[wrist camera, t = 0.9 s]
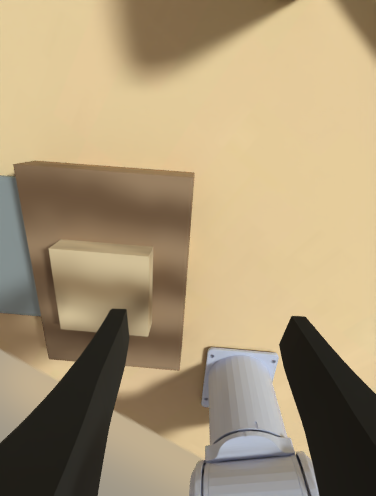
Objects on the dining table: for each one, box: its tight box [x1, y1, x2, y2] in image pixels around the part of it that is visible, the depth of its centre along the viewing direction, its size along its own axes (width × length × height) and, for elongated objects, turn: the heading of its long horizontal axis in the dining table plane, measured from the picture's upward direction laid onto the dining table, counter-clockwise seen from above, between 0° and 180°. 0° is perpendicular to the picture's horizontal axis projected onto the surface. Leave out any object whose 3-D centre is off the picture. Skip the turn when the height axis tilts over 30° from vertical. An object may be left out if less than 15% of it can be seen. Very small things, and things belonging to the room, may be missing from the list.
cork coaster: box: [49, 239, 153, 337], centre depth 24 cm, size 8×8×2 cm
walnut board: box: [13, 161, 194, 371], centre depth 26 cm, size 20×14×3 cm
